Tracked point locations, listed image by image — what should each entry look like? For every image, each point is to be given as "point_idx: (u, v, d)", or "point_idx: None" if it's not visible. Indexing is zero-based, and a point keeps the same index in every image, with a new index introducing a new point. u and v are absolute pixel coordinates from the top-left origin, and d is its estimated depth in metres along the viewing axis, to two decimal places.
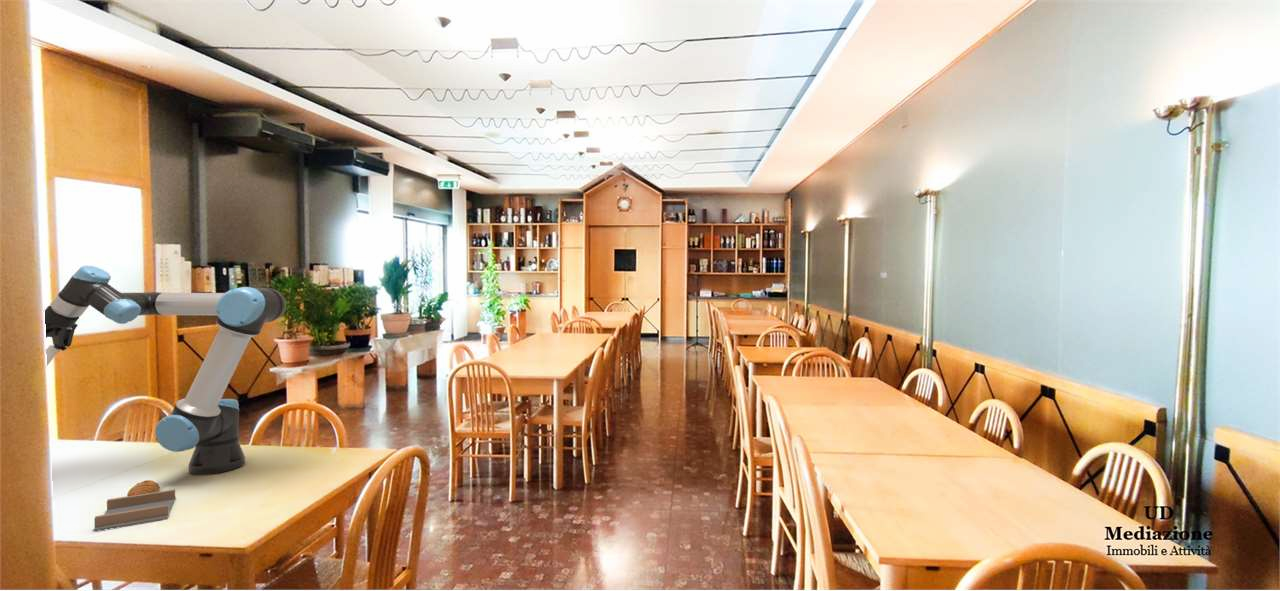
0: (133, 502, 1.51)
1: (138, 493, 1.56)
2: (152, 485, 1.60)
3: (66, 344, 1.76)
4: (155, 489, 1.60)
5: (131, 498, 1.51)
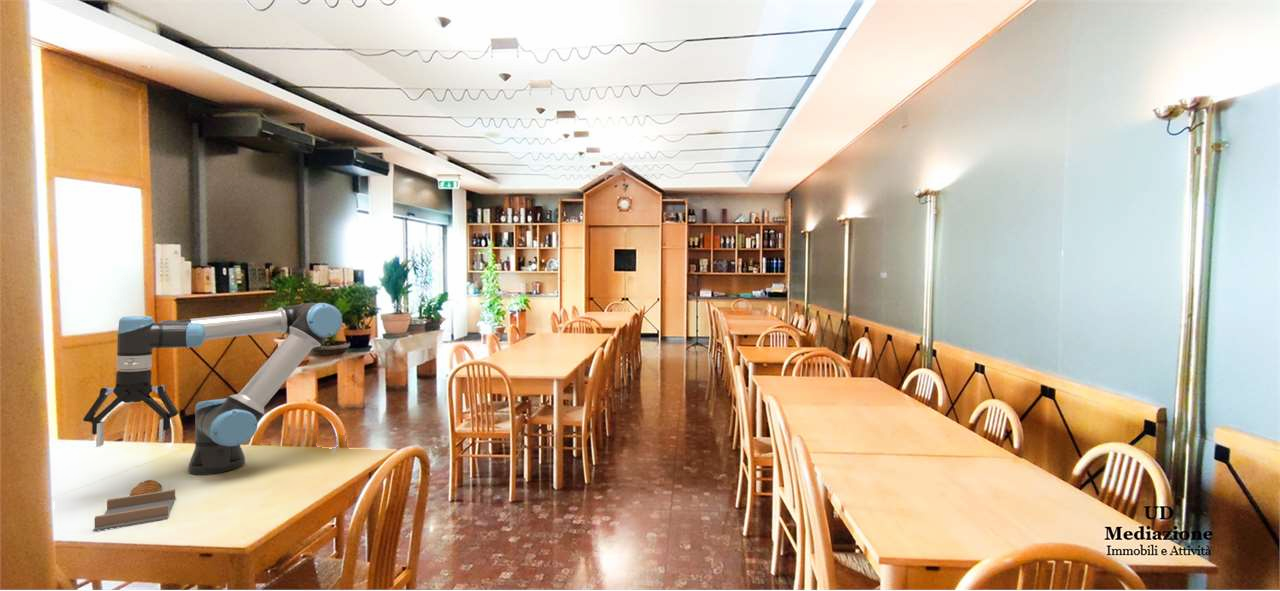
0: (133, 502, 1.51)
1: (141, 493, 1.56)
2: (155, 485, 1.61)
3: (93, 416, 1.55)
4: (158, 489, 1.61)
5: (131, 498, 1.51)
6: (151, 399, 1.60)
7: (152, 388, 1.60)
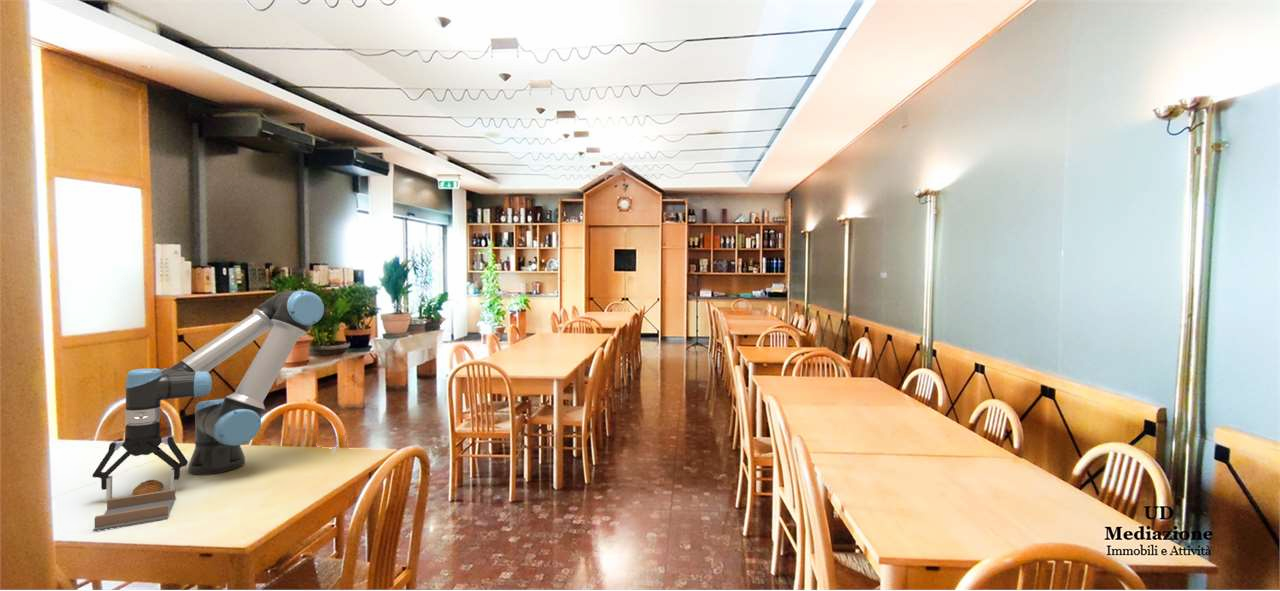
0: (133, 502, 1.51)
1: (143, 492, 1.57)
2: (157, 484, 1.61)
3: None
4: (160, 488, 1.61)
5: (131, 498, 1.51)
6: (161, 450, 1.62)
7: (162, 440, 1.61)
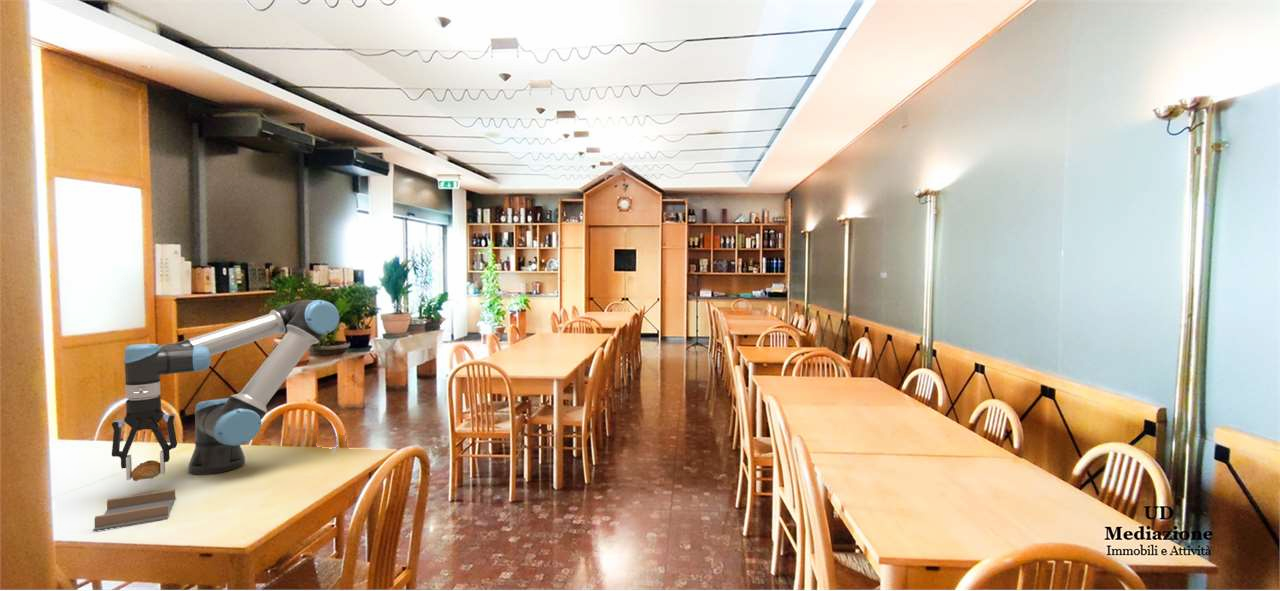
0: (133, 502, 1.51)
1: (142, 472, 1.57)
2: (155, 465, 1.61)
3: None
4: (159, 468, 1.61)
5: (131, 498, 1.51)
6: (158, 428, 1.61)
7: (163, 416, 1.62)
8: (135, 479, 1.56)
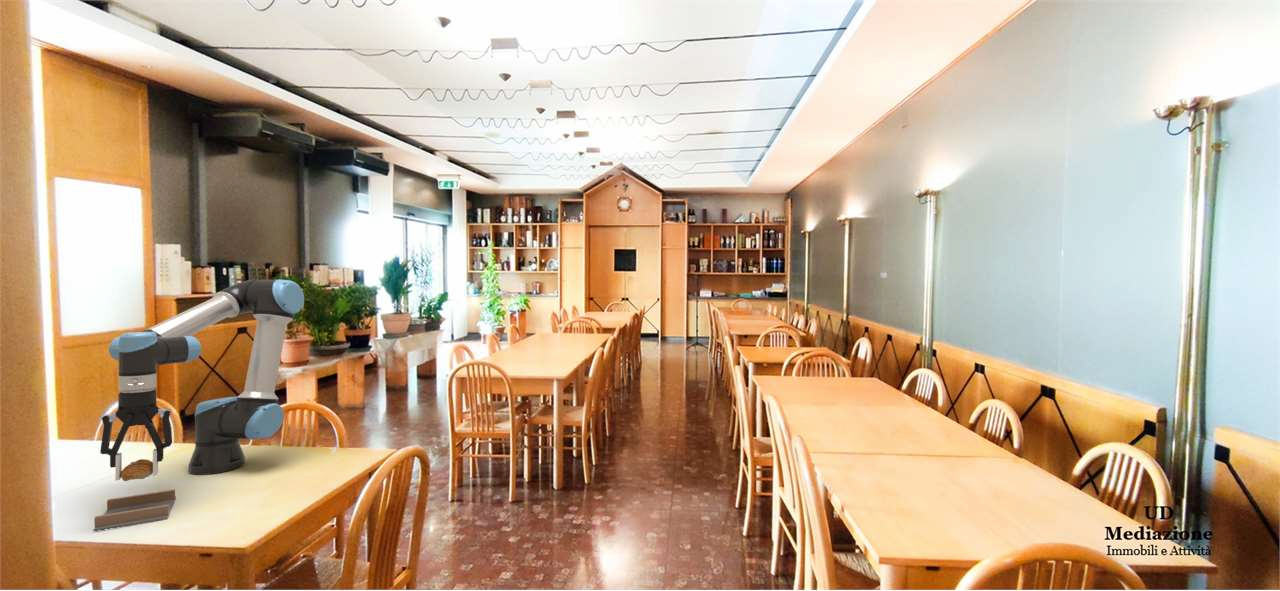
0: (133, 502, 1.51)
1: (133, 472, 1.44)
2: (148, 464, 1.48)
3: (108, 447, 1.44)
4: (151, 468, 1.48)
5: (131, 498, 1.51)
6: (152, 425, 1.48)
7: (158, 411, 1.49)
8: (125, 479, 1.43)
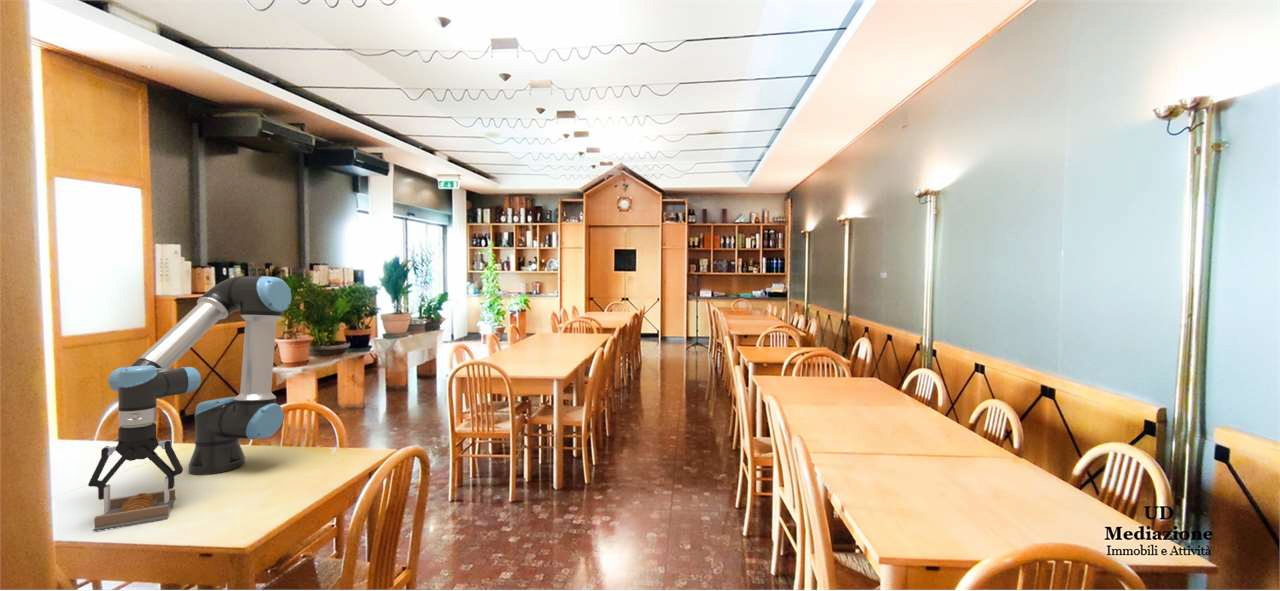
0: None
1: (133, 507, 1.44)
2: (148, 498, 1.48)
3: (97, 479, 1.43)
4: (151, 503, 1.48)
5: None
6: (156, 456, 1.49)
7: (158, 443, 1.49)
8: None
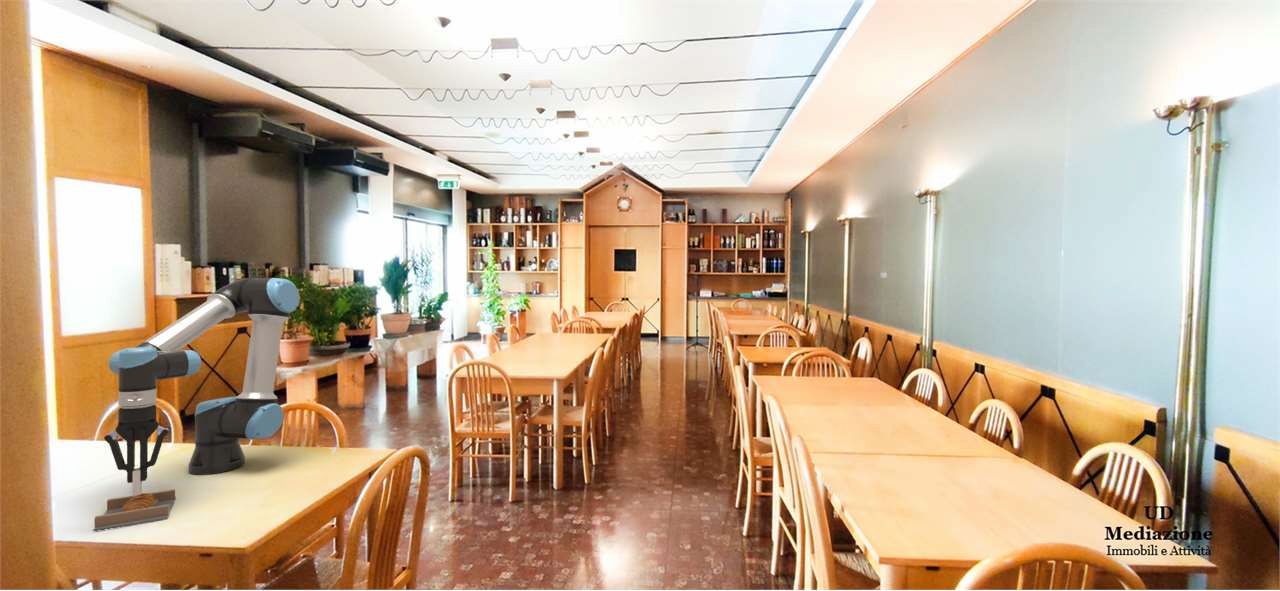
0: None
1: (133, 508, 1.44)
2: (149, 499, 1.48)
3: (124, 462, 1.46)
4: (152, 503, 1.48)
5: None
6: (146, 442, 1.48)
7: (157, 428, 1.49)
8: None
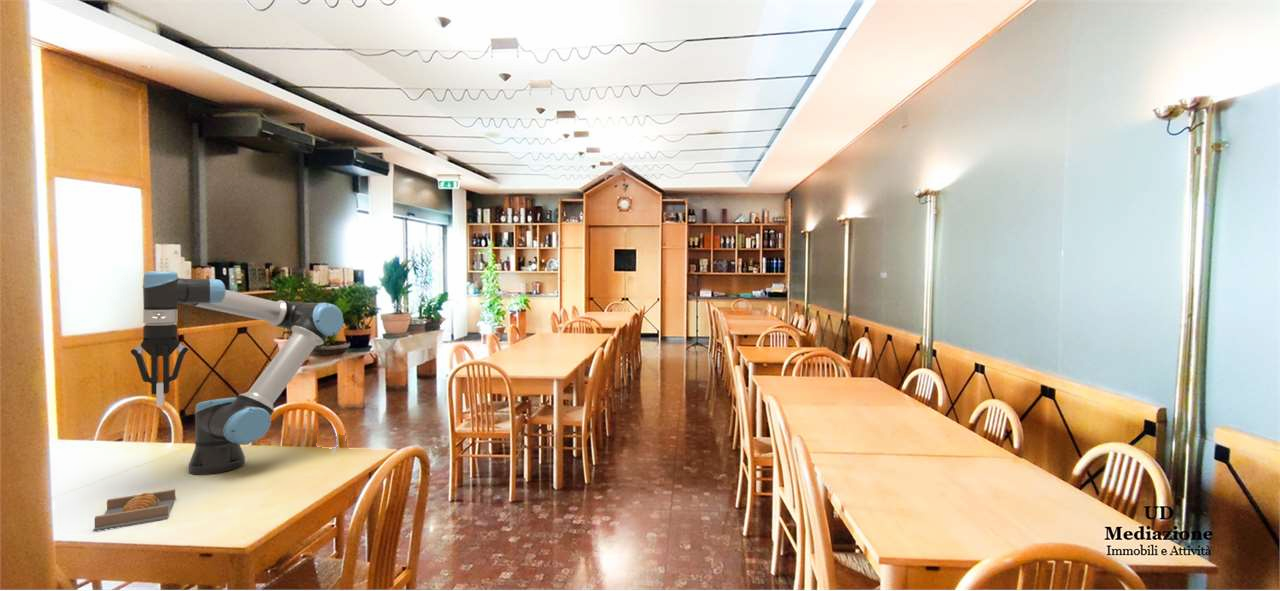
0: None
1: (133, 508, 1.44)
2: (149, 499, 1.48)
3: (148, 376, 1.59)
4: (152, 503, 1.48)
5: (131, 498, 1.51)
6: (169, 358, 1.61)
7: (179, 345, 1.62)
8: None
